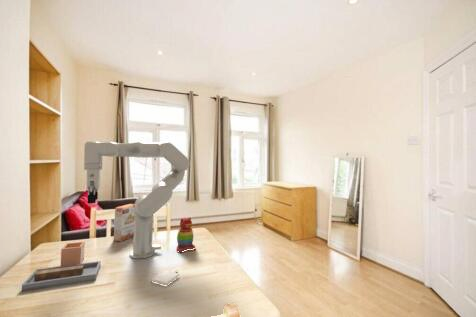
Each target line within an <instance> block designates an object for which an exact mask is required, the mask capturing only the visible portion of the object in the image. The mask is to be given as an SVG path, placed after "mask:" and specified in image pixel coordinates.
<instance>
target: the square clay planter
mask: <svg viewBox="0 0 476 317" xmlns="http://www.w3.org/2000/svg"><path fill="white" fill-rule="evenodd" d="M85 243H86V242H85V241H77V242H66V243H65V244H64V245H63V247H62V248H61V250H60V251H61V252H60V266H66V265H73V264H81V263H84V261H85Z"/></svg>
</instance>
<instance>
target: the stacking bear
mask: <svg viewBox="0 0 476 317" xmlns="http://www.w3.org/2000/svg"><path fill="white" fill-rule="evenodd" d="M179 225H180V228H179V230H178V232H177V235H176V240H177V246H176V252H177V251H179V252H182V251H184V250H187V249H193V248H195V247H196V245H194V244H193V242H194V231H193V227H192V225H193V222H192V219H191V217H185V218H181V219H180V222H179ZM179 252H178V253H179Z"/></svg>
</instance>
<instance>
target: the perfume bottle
mask: <svg viewBox="0 0 476 317" xmlns="http://www.w3.org/2000/svg"><path fill="white" fill-rule="evenodd" d="M176 271H178V272H179V270H178V269H176V268H175V269H174V270H173V271H168V270H166V269H165V270H162V271H161V272H160V273H159V274H157V275H156V276H154V277H152V278H151V281H153V282H157V283H159V284H163V285H168V284H169V283H170V282H172V281H173V280H174V279H175V278H177V277H178V276H179V277H180V274H179V273H178V272H177V273H175V272H176ZM177 279H178V278H177ZM172 283H173V282H172Z"/></svg>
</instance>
